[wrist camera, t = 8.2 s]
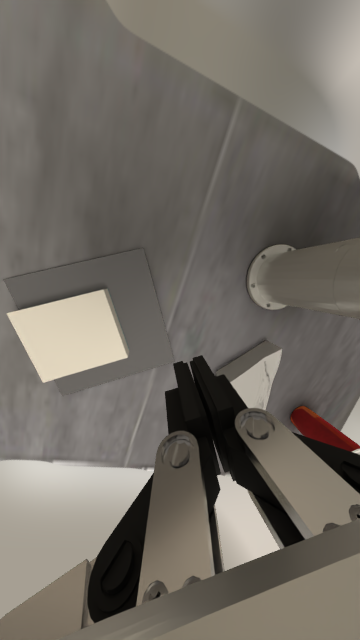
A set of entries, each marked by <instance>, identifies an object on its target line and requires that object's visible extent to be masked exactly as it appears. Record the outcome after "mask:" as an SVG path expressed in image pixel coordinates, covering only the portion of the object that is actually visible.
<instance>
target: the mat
mask: <svg viewBox="0 0 360 640" xmlns="http://www.w3.org/2000/svg"><path fill="white" fill-rule="evenodd" d="M4 282H5V284H6V286H7V288H8V290H9V292H10V294H11V296H12V298H13V299H14V301H15V303H16V305H17V307H18V309H19V310H22V309H27V308H31V307H35V306H39V305H43V304H47V303H51V302H55V301H59V300H63V299H67V298H71V297H75V296H79V295H83V294H87V293H91V292H95V291H99V290H103V289H107V288H108V290H109V293H110V296H111V299H112V302H113V305H114V308H115V311H116V313H117V316H118V319H119V322H120V325H121V328H122V331H123V333H124V336H125V339H126V342H127V345H128V348H129V355H128V358H125V359H121V360H118V361H115V362H111V363H108V364H104V365H101V366H98V367H94V368H91V369H87V370H84V371H81V372H77V373H74V374H71V375H67V376H64V377H60V378H57V379H54V381H55V382H56V384H57V386H58V388H59V390H60V392H61V394H62V396H65V395H68V394H71V393H75V392H78V391H81V390H84V389H88V388H91V387H94V386H97V385H101V384H104V383H107V382H110V381H114V380H117V379H120V378H123V377H126V376H130V375H133V374H136V373H139V372H143V371H146V370H149V369H152V368H156V367H159V366H162V365H165V364H169V363H172V362H175V361H174V357H173V354H172V350H171V346H170V343H169V339H168V335H167V332H166V328H165V325H164V321H163V317H162V314H161V310H160V306H159V303H158V299H157V295H156V292H155V288H154V285H153V281H152V277H151V274H150V270H149V266H148V263H147V259H146V256H145V252H144V248H140V249H136V250H131V251H127V252H122V253H118V254H114V255H109V256H105V257H100V258H96V259H92V260H87V261H83V262H78V263H74V264H70V265H65V266H61V267H56V268H52V269H48V270H43V271H39V272H34V273H30V274H26V275H21V276H17V277H12V278H8V279H4Z"/></svg>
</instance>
